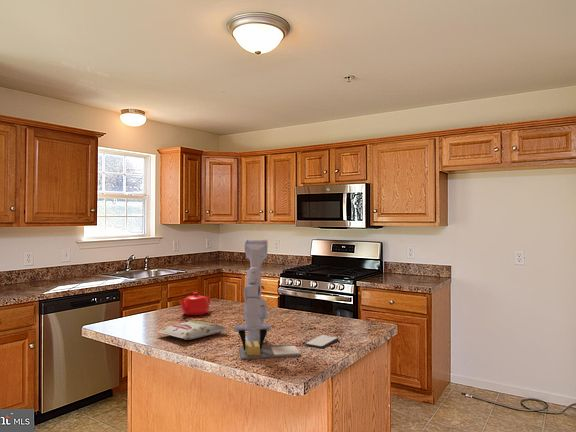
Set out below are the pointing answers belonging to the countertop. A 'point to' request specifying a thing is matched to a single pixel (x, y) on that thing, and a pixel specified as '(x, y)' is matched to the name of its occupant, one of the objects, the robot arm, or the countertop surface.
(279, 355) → the mat
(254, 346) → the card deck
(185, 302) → the teapot
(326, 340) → the phone case
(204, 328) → the frozen beans
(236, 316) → the countertop surface
